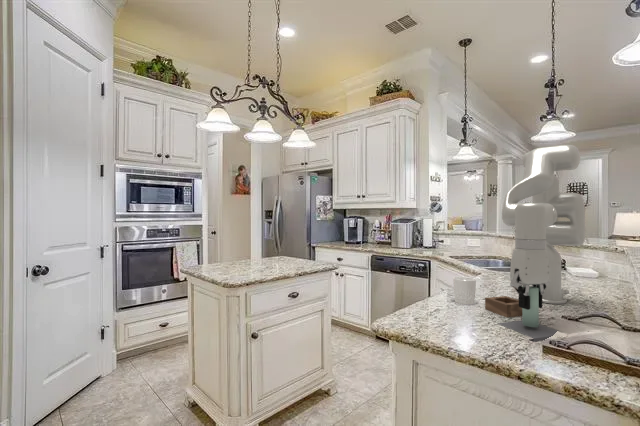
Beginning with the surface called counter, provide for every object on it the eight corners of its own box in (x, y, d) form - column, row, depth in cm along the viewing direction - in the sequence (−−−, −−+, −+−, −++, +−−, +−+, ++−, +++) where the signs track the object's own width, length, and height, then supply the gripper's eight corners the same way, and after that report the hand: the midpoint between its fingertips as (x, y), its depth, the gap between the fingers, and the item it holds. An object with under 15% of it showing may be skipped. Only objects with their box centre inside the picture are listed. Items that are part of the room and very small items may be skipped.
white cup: (471, 302, 123) (471, 276, 123) (479, 308, 115) (479, 280, 115) (450, 301, 123) (450, 276, 123) (457, 307, 115) (457, 280, 115)
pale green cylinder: (529, 321, 94) (529, 285, 94) (542, 326, 91) (542, 288, 91) (519, 323, 93) (518, 286, 93) (531, 328, 89) (531, 289, 89)
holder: (505, 309, 113) (505, 295, 113) (528, 317, 104) (528, 302, 104) (485, 312, 110) (485, 297, 110) (506, 320, 101) (506, 305, 101)
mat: (527, 322, 99) (527, 319, 99) (566, 337, 88) (566, 333, 88) (497, 326, 96) (497, 323, 96) (533, 342, 84) (533, 338, 84)
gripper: (539, 243, 98) (539, 301, 98) (496, 244, 93) (497, 306, 93) (564, 245, 91) (564, 308, 91) (519, 247, 86) (519, 314, 86)
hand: (530, 306), depth 92 cm, fingers closed on pale green cylinder, 3 cm apart
